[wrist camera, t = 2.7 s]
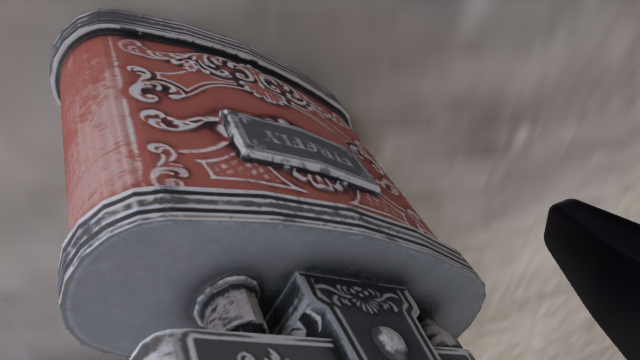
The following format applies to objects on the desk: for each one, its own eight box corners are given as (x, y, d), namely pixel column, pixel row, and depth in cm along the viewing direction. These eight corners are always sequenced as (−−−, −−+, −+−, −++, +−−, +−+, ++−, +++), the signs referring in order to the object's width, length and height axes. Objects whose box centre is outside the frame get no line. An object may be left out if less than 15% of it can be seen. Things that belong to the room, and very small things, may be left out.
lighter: (362, 91, 17) (614, 373, 9) (307, 181, 18) (492, 491, 11) (76, -24, 12) (138, 351, 5) (31, 108, 13) (23, 562, 6)
